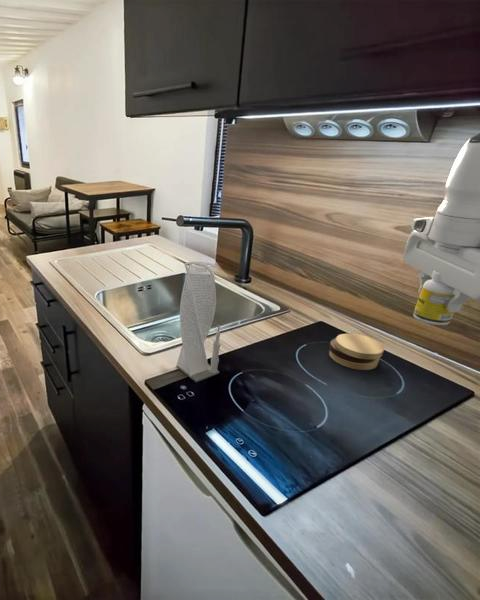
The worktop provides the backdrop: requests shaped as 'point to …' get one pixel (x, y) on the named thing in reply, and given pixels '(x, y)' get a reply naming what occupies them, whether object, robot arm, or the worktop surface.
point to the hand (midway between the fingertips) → (436, 302)
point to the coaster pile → (356, 351)
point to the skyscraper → (198, 321)
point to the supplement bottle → (434, 302)
